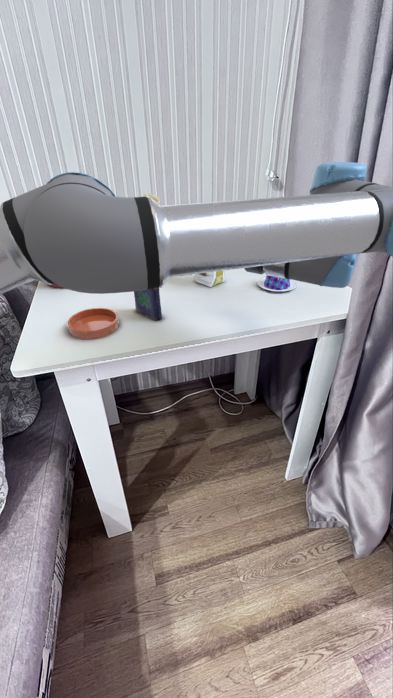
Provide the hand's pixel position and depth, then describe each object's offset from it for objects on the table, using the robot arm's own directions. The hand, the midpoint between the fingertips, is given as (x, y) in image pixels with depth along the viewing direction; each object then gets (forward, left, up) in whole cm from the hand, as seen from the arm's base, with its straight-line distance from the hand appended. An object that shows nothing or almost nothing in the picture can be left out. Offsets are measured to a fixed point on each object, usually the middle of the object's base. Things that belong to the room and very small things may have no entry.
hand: (175, 240), depth 71 cm
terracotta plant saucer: (-12, +18, -21) cm, 30 cm away
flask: (0, +9, -21) cm, 23 cm away
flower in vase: (+26, +28, -21) cm, 43 cm away
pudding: (+34, -14, -21) cm, 42 cm away
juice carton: (+27, +6, -21) cm, 34 cm away
